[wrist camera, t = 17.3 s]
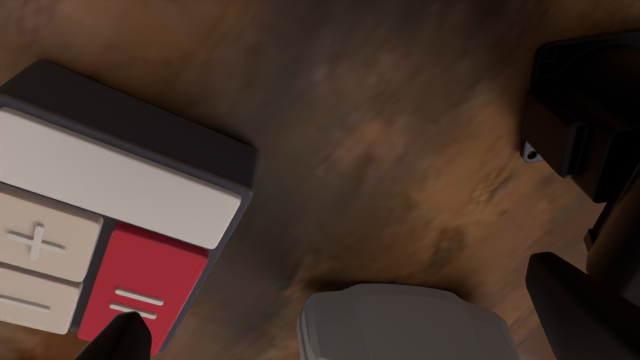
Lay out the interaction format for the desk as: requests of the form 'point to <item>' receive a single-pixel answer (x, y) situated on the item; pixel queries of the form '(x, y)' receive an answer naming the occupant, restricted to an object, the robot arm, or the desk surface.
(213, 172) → the calculator
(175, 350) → the desk surface
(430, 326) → the handheld gaming console
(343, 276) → the desk surface
